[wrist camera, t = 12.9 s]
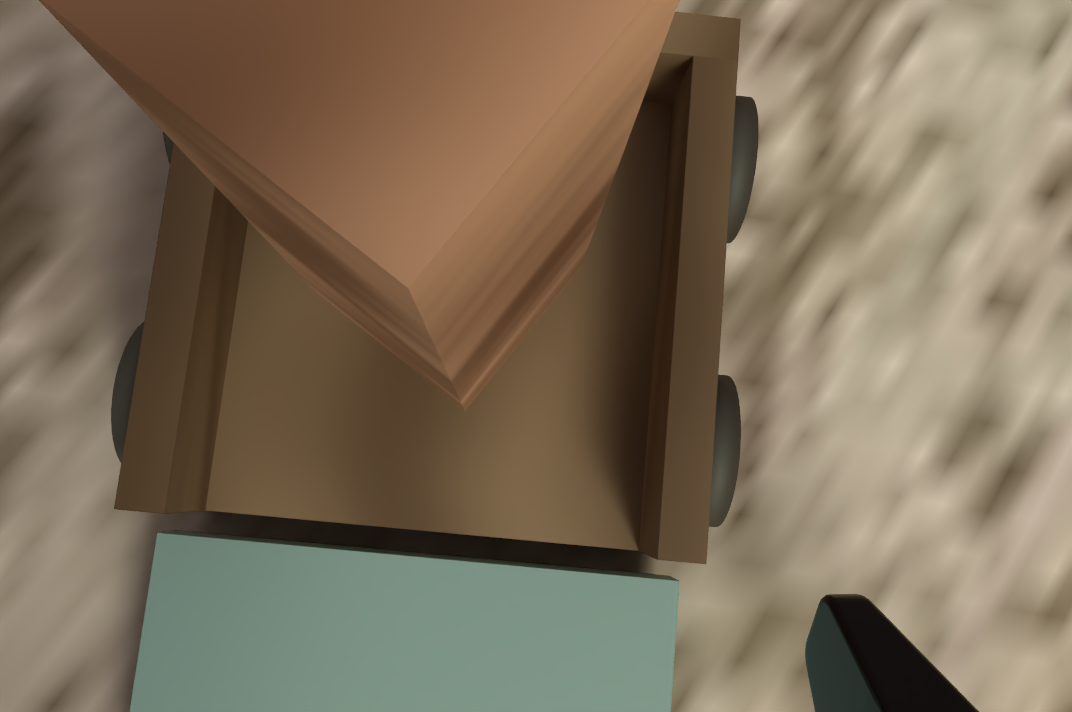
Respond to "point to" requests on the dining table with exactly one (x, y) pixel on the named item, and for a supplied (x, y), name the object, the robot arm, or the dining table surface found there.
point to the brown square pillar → (400, 145)
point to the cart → (510, 395)
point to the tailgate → (395, 632)
